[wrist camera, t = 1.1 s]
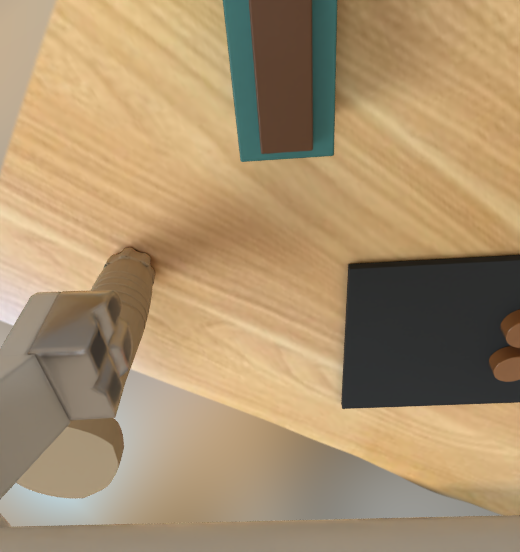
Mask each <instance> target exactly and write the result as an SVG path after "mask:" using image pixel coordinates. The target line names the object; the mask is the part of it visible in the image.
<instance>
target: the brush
mask: <svg viewBox="0 0 520 552" xmlns="http://www.w3.org/2000/svg"><path fill="white" fill-rule="evenodd" d="M223 6H224V15H225V24H226V33H227V42H228V51H229V61H230V70H231V79H232V88H233V97H234V106H235V115H236V124H237V133H238V142H239V151H240V160H241V162H246V161H261V160H276V159H291V158H306V157H321V156H333V155H334V126H335V80H336V35H337V0H223Z"/></svg>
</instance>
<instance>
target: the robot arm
mask: <svg viewBox="0 0 520 552" xmlns="http://www.w3.org/2000/svg"><path fill="white" fill-rule="evenodd" d="M122 307H123V305H122V302H121V300H120V297H119V295H118V293H117V292H115V291H113V290H104V291H63V292H39V293H36V294H34V295H32V296H31V297H30V298H29V300H28V302H27V304H26V305H25V307H24V309H23V310H22V312H21V314H20V316H19V317H18V319H17V321H16V322H15V324H14V326H13V328H12V329H11V331H10V333H9V334H8V336H7V338H6V340H5V341H4V343H3V345H2V346H1V349H0V499H1V498H2V497H3V496H4V495H5V494H6V493H7V491H8V490H9V489H10V488H11V487H12V486H13V485H14V484H15V483H16V482H17V481H18V480H19V478H20V477H21V476H22V475H23V474H24V473H25V472H26V471H27V470H28V469H29V468H30V466H31V465H32V464H33V463H34V462H35V461H36V460H37V459H38V458H39V457H40V456H41V455H42V453H43V452H44V451H45V450H46V449H47V448H48V447H49V446H50V445H51V444H52V443H53V441H54V440H55V439H56V438H57V437H58V436H59V435H60V434H61V433H62V432H63V431H64V430H65V428H66V427H67V426H68V425H69V424H70V420H85V419H101V418H115V416H116V413H117V410H118V406H119V403H120V399H121V396H122V392H123V389H124V388H123V385H122V383H121V380H120V377H121V376H122V375H124V374H125V373H126V372H127V371H128V370H129V368H130V364H131V360H132V350H133V340H132V333H131V329H130V326H129V323H128V322H127V321H125V320H124V319H123V318H121V317H120V313H121V310H122ZM0 552H520V515H510V516H465V517H419V518H379V519H378V518H376V519H334V520H292V521H249V522H248V521H247V522H202V523H159V524H158V523H157V524H115V525H70V526H69V525H68V526H29V527H28V526H25V527H11V526H10V524H9V523H8V522H7V521H6V519H5V518H4V517H3V516H2V515H1V514H0Z"/></svg>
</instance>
